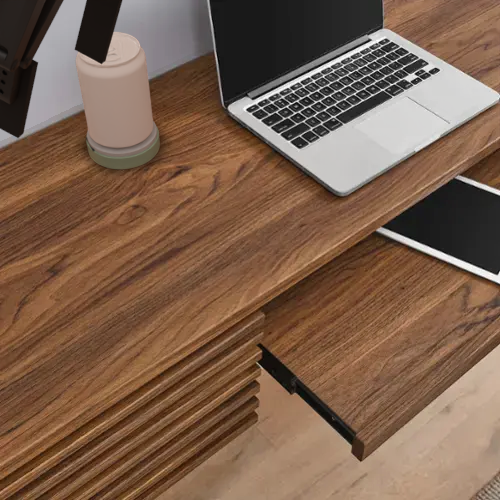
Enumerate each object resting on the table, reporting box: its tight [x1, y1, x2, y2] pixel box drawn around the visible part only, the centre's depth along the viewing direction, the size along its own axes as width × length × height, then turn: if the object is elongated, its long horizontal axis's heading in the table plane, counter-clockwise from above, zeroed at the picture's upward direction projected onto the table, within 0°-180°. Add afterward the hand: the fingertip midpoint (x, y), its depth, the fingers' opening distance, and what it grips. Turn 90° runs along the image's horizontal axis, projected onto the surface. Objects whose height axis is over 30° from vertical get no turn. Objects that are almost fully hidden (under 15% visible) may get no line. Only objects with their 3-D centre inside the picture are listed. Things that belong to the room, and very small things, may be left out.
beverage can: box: [75, 31, 154, 148], centre depth 92 cm, size 8×8×12 cm
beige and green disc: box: [85, 120, 161, 170], centre depth 97 cm, size 9×9×2 cm
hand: (50, 88), depth 62 cm, fingers open, 13 cm apart
